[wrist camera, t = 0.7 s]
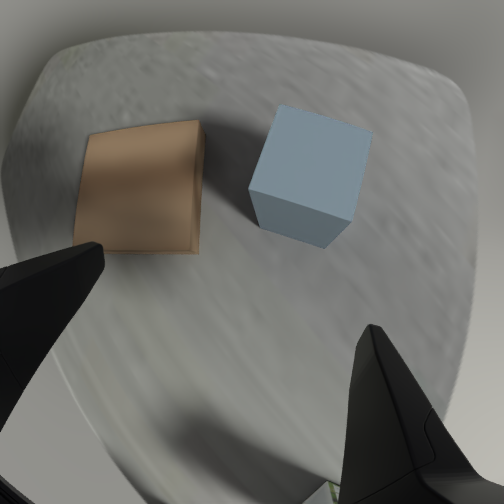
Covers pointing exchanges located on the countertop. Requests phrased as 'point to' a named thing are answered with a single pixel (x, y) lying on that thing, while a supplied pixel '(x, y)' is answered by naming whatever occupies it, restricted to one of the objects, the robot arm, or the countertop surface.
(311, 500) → the syrup box
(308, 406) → the countertop surface
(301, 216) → the slate block
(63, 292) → the robot arm
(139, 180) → the walnut block
